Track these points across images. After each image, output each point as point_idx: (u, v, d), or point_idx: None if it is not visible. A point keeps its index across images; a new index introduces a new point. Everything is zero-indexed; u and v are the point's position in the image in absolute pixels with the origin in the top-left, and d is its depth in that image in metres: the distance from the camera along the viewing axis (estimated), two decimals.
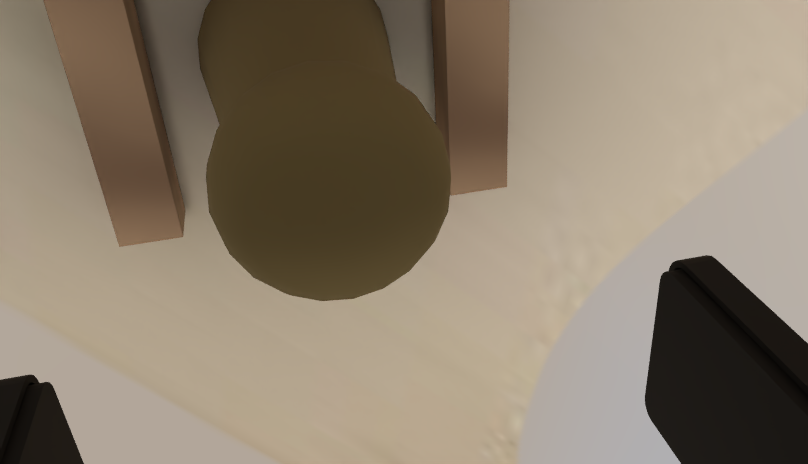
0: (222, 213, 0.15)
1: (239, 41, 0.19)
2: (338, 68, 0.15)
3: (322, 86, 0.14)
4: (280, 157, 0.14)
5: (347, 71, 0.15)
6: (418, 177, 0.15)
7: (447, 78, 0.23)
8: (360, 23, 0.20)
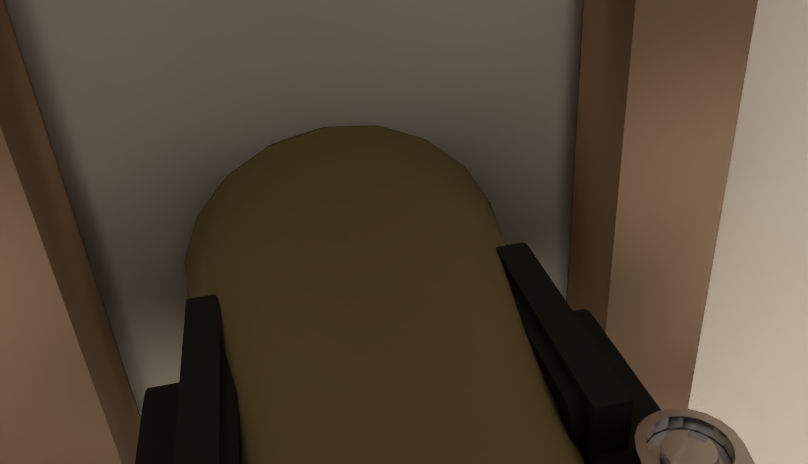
0: None
1: (260, 356, 0.09)
2: None
3: None
4: None
5: None
6: None
7: (606, 319, 0.14)
8: (493, 296, 0.10)
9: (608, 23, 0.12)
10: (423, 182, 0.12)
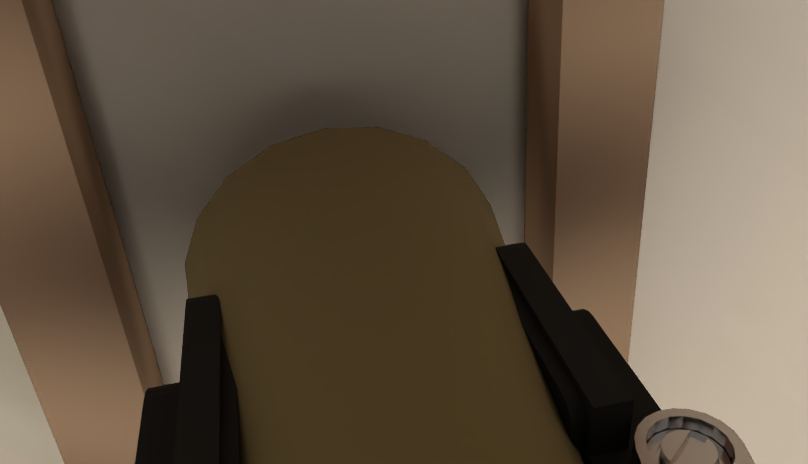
0: None
1: (261, 358, 0.09)
2: None
3: None
4: None
5: None
6: None
7: None
8: (493, 297, 0.10)
9: (541, 199, 0.16)
10: (423, 183, 0.12)
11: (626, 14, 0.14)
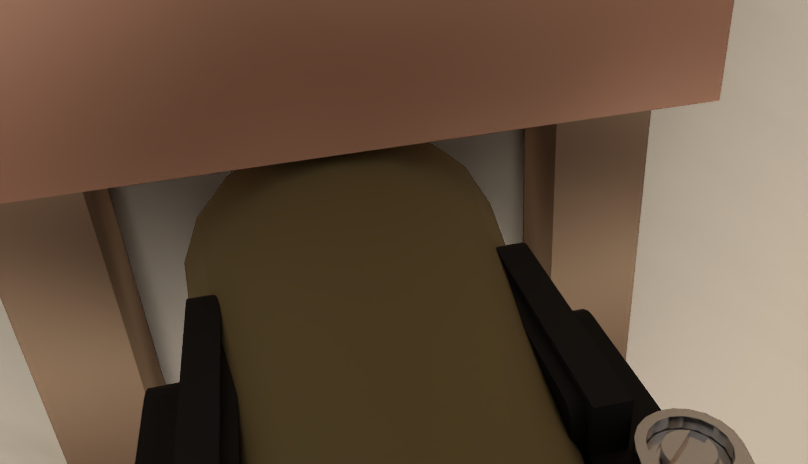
0: None
1: (261, 356, 0.09)
2: None
3: None
4: None
5: None
6: None
7: None
8: (493, 296, 0.10)
9: None
10: (423, 182, 0.12)
11: (604, 264, 0.17)
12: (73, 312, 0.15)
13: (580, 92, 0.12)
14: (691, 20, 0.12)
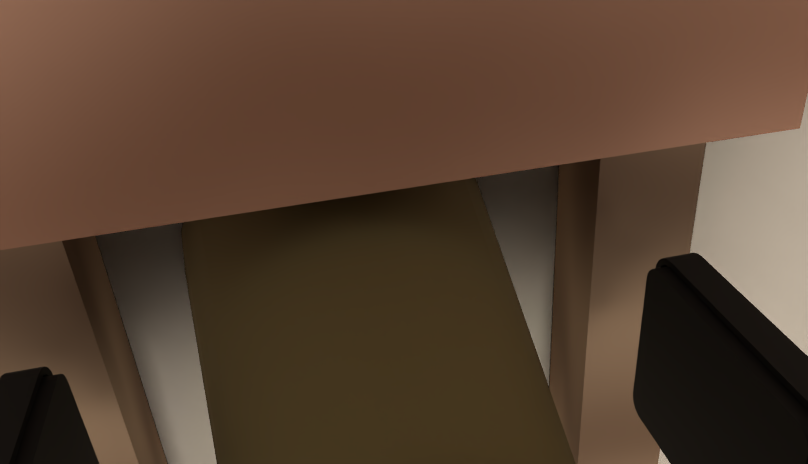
0: None
1: (253, 308, 0.10)
2: None
3: None
4: None
5: None
6: None
7: None
8: (474, 255, 0.11)
9: None
10: None
11: None
12: (50, 363, 0.13)
13: (641, 120, 0.10)
14: (774, 36, 0.10)
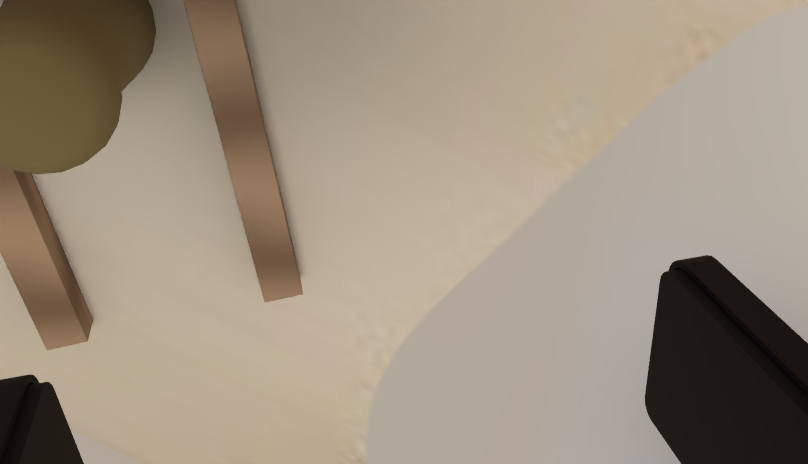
0: None
1: (1, 9, 0.27)
2: (20, 14, 0.23)
3: (1, 24, 0.22)
4: None
5: (24, 15, 0.23)
6: (73, 81, 0.23)
7: (246, 233, 0.37)
8: None
9: None
10: None
11: (225, 42, 0.32)
12: None
13: None
14: None
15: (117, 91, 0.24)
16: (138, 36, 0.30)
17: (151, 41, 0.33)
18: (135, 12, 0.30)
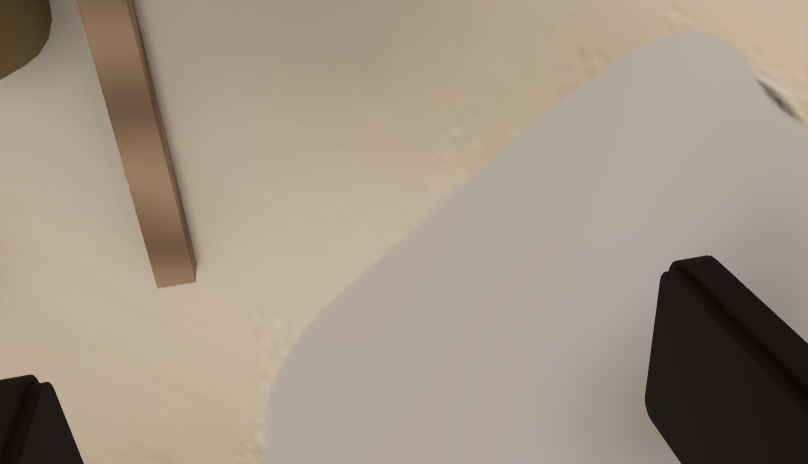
0: None
1: None
2: None
3: None
4: None
5: None
6: None
7: None
8: None
9: None
10: None
11: (116, 33, 0.33)
12: None
13: None
14: None
15: None
16: (26, 22, 0.31)
17: (45, 28, 0.34)
18: None
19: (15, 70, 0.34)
